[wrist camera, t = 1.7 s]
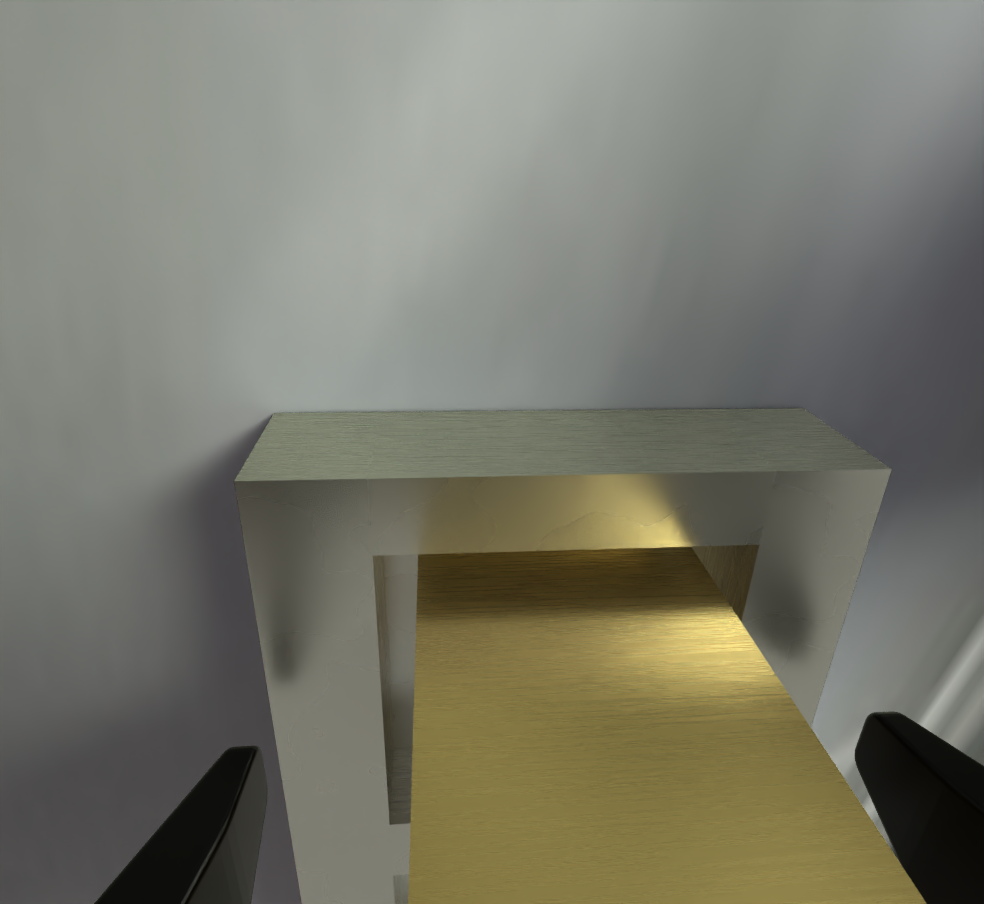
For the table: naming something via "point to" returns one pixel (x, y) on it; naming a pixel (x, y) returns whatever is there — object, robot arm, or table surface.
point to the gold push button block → (617, 745)
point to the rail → (511, 528)
